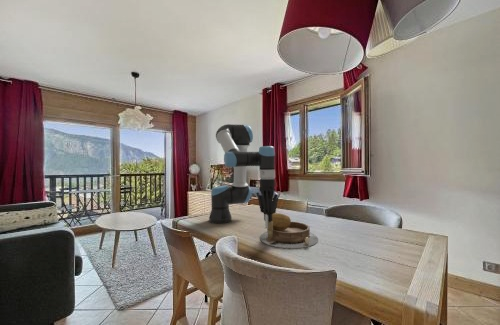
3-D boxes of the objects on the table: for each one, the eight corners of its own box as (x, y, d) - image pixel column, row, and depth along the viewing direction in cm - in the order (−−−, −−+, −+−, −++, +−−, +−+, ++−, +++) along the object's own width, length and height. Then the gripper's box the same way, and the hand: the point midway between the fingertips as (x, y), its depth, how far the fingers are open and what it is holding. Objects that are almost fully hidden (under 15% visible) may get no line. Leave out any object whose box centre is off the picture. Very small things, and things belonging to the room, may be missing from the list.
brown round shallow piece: (285, 227, 131) (285, 211, 131) (318, 235, 115) (317, 217, 116) (253, 236, 115) (252, 218, 115) (285, 248, 99) (285, 227, 99)
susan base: (252, 244, 108) (252, 236, 108) (268, 228, 135) (268, 221, 135) (316, 251, 98) (316, 242, 98) (319, 231, 125) (319, 225, 125)
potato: (262, 232, 115) (261, 219, 121) (288, 236, 117) (285, 224, 124) (268, 218, 110) (267, 207, 116) (295, 223, 112) (292, 211, 119)
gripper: (252, 178, 112) (253, 227, 111) (273, 179, 103) (274, 232, 102) (262, 177, 117) (263, 223, 117) (283, 178, 108) (284, 228, 108)
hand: (268, 227), depth 110 cm, fingers closed
